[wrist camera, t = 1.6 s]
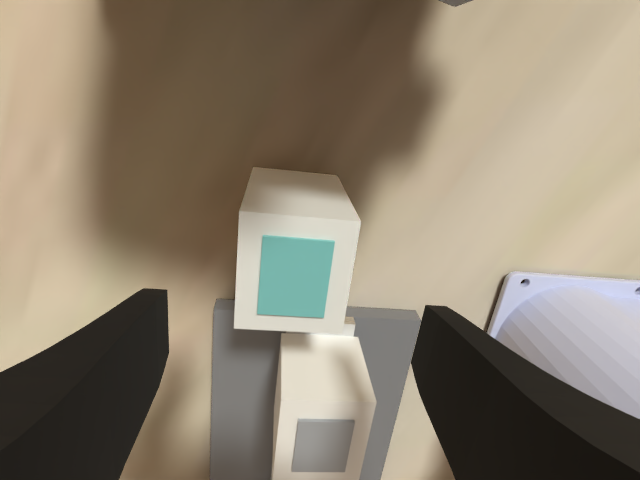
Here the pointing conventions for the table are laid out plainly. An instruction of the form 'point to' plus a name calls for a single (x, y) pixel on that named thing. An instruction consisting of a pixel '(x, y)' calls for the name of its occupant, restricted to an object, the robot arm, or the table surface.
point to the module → (294, 252)
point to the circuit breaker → (455, 2)
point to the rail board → (259, 387)
